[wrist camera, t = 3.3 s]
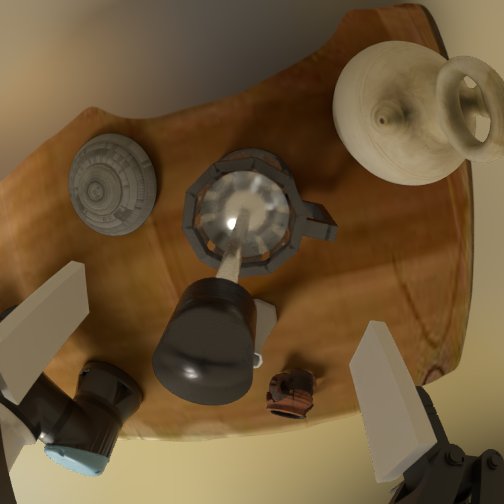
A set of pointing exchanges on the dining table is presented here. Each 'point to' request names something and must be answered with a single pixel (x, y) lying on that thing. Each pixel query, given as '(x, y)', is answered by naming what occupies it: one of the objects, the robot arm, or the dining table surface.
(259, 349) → the flask
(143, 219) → the flying saucer
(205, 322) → the plunger
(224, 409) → the dining table surface
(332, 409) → the dining table surface
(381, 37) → the dining table surface
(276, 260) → the press carafe
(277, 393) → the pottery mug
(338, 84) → the jug
